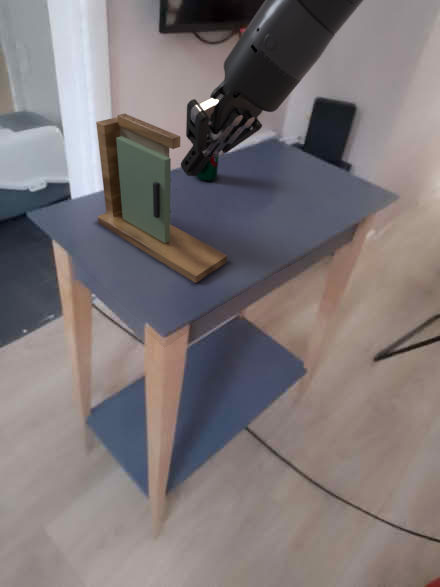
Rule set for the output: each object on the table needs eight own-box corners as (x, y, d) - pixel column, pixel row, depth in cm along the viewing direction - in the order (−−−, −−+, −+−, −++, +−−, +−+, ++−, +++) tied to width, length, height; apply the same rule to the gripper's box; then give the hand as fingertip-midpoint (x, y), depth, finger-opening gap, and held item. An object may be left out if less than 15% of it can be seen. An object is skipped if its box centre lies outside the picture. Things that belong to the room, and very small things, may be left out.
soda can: (192, 173, 93) (195, 121, 86) (212, 172, 95) (217, 120, 87) (199, 183, 90) (202, 129, 82) (219, 181, 92) (225, 128, 84)
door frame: (195, 283, 63) (203, 170, 50) (98, 223, 74) (84, 117, 61) (226, 262, 68) (240, 154, 55) (131, 209, 79) (124, 108, 66)
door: (162, 245, 67) (161, 161, 57) (119, 220, 72) (112, 138, 62) (170, 240, 68) (170, 158, 58) (127, 216, 73) (121, 136, 63)
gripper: (285, 40, 46) (203, 150, 57) (219, 4, 36) (134, 147, 46) (324, 86, 45) (232, 190, 55) (267, 64, 35) (168, 196, 45)
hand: (187, 170), depth 51 cm, fingers closed
